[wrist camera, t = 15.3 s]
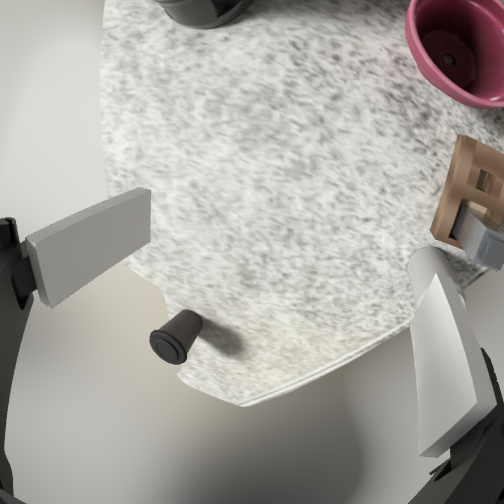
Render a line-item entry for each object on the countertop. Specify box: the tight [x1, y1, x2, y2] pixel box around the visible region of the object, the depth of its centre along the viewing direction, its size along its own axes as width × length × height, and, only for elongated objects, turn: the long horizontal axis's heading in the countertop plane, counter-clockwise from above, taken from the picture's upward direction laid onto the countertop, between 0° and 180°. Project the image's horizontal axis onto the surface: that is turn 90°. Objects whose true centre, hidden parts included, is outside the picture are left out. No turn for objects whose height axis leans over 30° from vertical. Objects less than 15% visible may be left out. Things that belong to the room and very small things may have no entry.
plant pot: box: [405, 0, 504, 109], centre depth 20 cm, size 14×14×13 cm
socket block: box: [430, 135, 504, 250], centre depth 29 cm, size 14×9×3 cm, turn 170°
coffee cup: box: [150, 309, 203, 365], centre depth 53 cm, size 8×8×10 cm
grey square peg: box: [451, 203, 504, 271], centre depth 27 cm, size 4×4×11 cm
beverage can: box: [407, 247, 465, 312], centre depth 32 cm, size 6×6×12 cm
